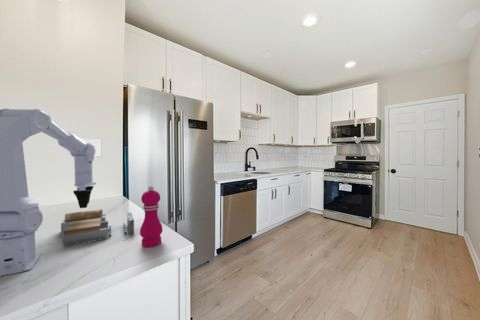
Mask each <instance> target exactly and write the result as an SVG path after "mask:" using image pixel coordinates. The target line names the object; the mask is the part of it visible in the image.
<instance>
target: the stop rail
mask: <svg viewBox="0 0 480 320" xmlns="http://www.w3.org/2000/svg"><path fill="white" fill-rule="evenodd" d="M126 220H127V222H126V226H127V229H128V230H129V231H128V230H127V231H128V235H129V234H131V235H134V234H135V219H134V216H133V214H132V212H126Z"/></svg>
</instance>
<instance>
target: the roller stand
mask: <svg viewBox="0 0 480 320" xmlns="http://www.w3.org/2000/svg"><path fill="white" fill-rule="evenodd" d="M94 219H95V218H94ZM87 220H88V219H87ZM80 221H81V220H80ZM102 221H107V220H106V214H104V213H103V217H101V222H102ZM73 222H74V221H73ZM68 224H69V222H65V219H63V221H62V222H61V224H60V235H61V236H63V235H64V230H65V229H66V227H67V225H68Z"/></svg>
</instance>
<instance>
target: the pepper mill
mask: <svg viewBox="0 0 480 320" xmlns="http://www.w3.org/2000/svg"><path fill="white" fill-rule="evenodd" d="M147 189H148V190H147V191H145V192H143V193H142V195H141V199H140V200H141V202H142V204H143V205H142V206H143V211H144V219H143V222H142V224H141V225H140V226H141V227H140V229H139V235H140V237H141V238H142V239H141V246H142V247H144V248H152V247H156V246H158V245H160V244H161V243H162V236H161V235H162V233H163V225H162V222H161V221H160V219H159V216H158V209H159V208H160V205H159V202H160V201H161V194H160V193H159V192H158V191H157V190H154V186H152V185H150V186H148V188H147Z"/></svg>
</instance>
